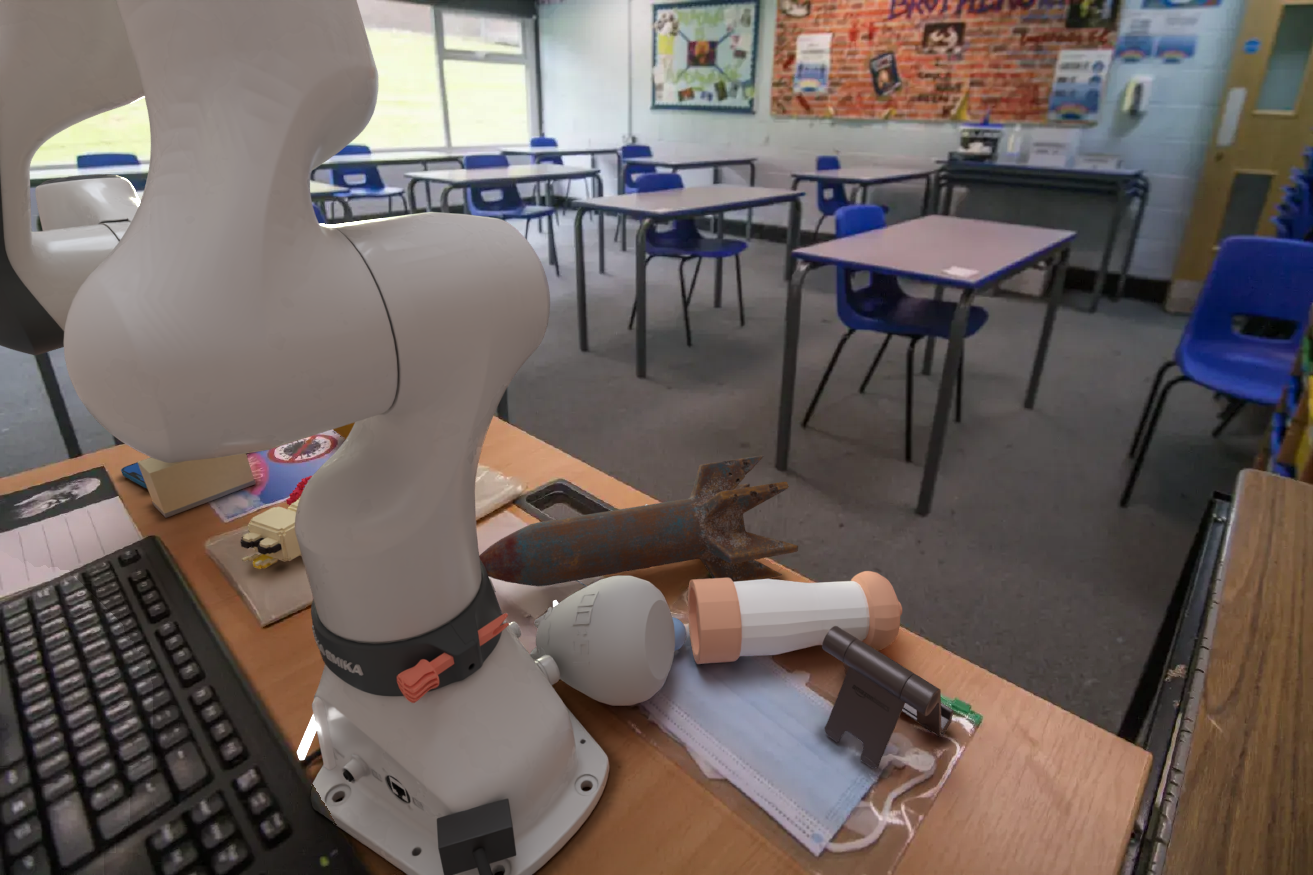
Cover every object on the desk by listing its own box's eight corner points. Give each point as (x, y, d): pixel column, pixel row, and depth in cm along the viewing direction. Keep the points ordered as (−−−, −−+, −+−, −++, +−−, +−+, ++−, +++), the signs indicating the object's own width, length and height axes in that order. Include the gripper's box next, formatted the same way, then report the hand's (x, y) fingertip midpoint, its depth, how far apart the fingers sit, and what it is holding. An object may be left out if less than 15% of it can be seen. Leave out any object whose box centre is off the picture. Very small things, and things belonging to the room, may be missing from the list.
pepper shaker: (702, 624, 57) (926, 610, 59) (689, 562, 63) (893, 551, 65) (697, 681, 61) (907, 667, 63) (685, 618, 67) (877, 606, 69)
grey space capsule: (627, 701, 50) (488, 695, 54) (680, 712, 58) (557, 707, 63) (638, 559, 54) (509, 565, 59) (686, 589, 63) (570, 592, 67)
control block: (256, 483, 88) (243, 441, 85) (165, 518, 81) (149, 473, 78) (242, 473, 90) (229, 431, 87) (153, 505, 83) (136, 461, 80)
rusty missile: (489, 635, 70) (767, 581, 77) (482, 624, 58) (809, 563, 65) (475, 516, 73) (741, 475, 80) (465, 485, 62) (776, 440, 69)
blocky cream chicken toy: (388, 467, 94) (217, 558, 73) (382, 406, 91) (199, 484, 69) (449, 483, 91) (287, 584, 69) (444, 421, 87) (272, 507, 66)
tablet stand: (951, 730, 56) (975, 653, 52) (901, 790, 51) (923, 710, 47) (856, 668, 62) (871, 595, 58) (802, 718, 57) (815, 641, 53)
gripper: (70, 320, 78) (113, 430, 85) (133, 366, 67) (177, 488, 73) (135, 308, 83) (171, 413, 89) (204, 348, 71) (240, 466, 77)
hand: (174, 447), depth 81 cm, fingers closed
